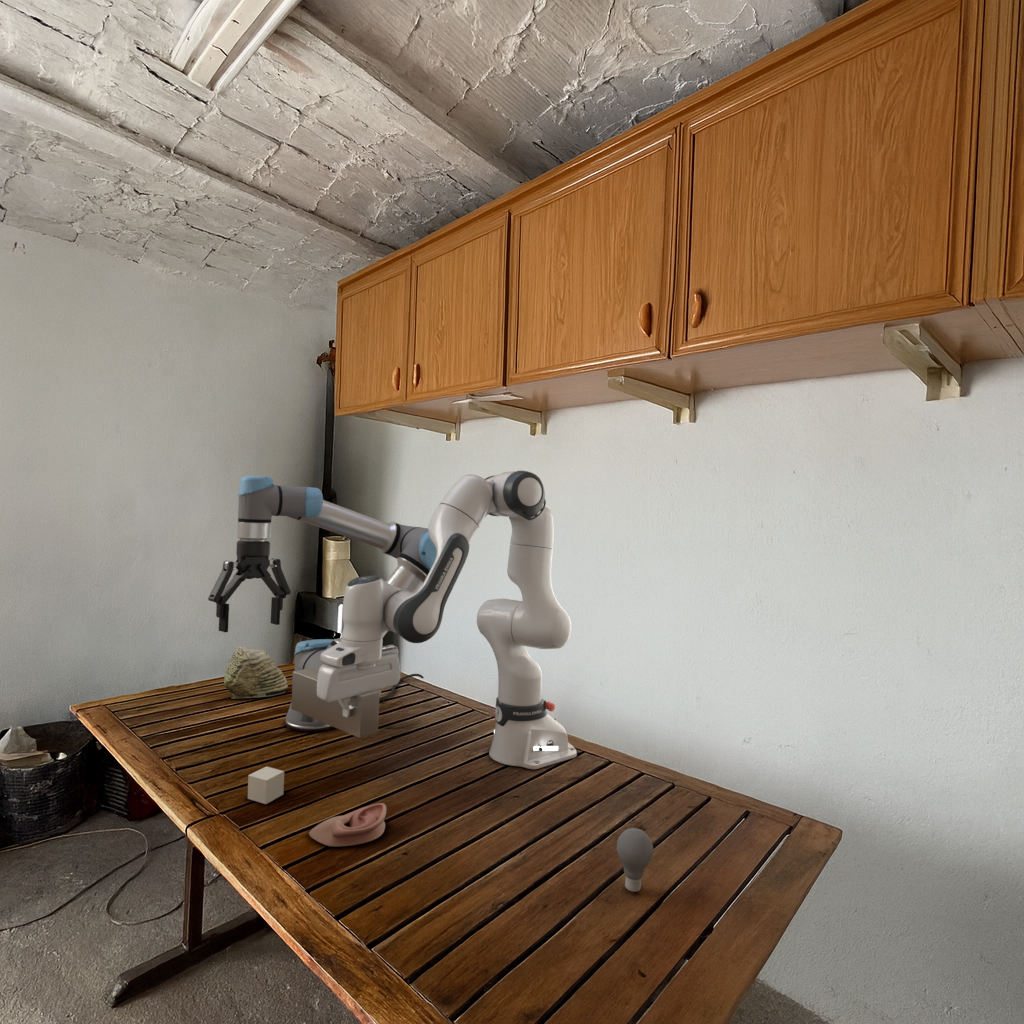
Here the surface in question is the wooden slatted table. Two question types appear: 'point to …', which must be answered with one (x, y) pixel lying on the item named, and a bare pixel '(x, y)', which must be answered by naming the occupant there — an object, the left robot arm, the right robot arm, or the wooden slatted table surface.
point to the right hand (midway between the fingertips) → (359, 712)
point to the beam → (335, 706)
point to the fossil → (253, 675)
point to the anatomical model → (352, 827)
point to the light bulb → (634, 856)
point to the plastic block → (265, 785)
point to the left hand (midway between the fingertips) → (250, 627)
